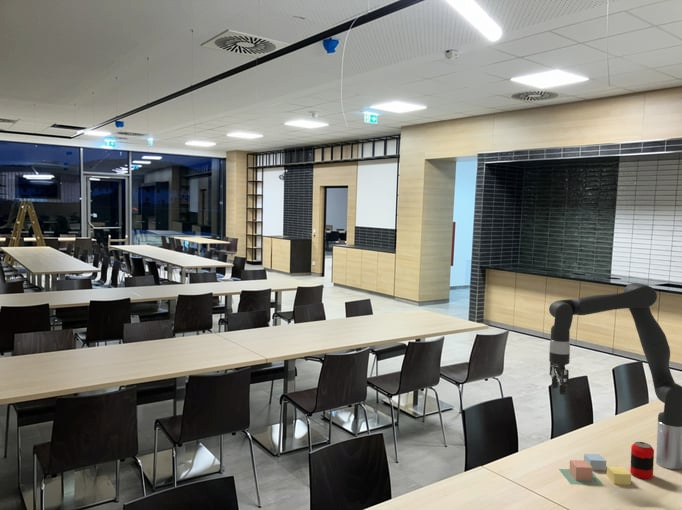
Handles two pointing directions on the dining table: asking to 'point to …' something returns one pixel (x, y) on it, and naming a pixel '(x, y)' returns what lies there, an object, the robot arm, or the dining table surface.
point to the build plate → (572, 481)
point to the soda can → (642, 460)
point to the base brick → (581, 470)
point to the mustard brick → (618, 475)
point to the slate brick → (595, 461)
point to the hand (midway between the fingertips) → (558, 390)
